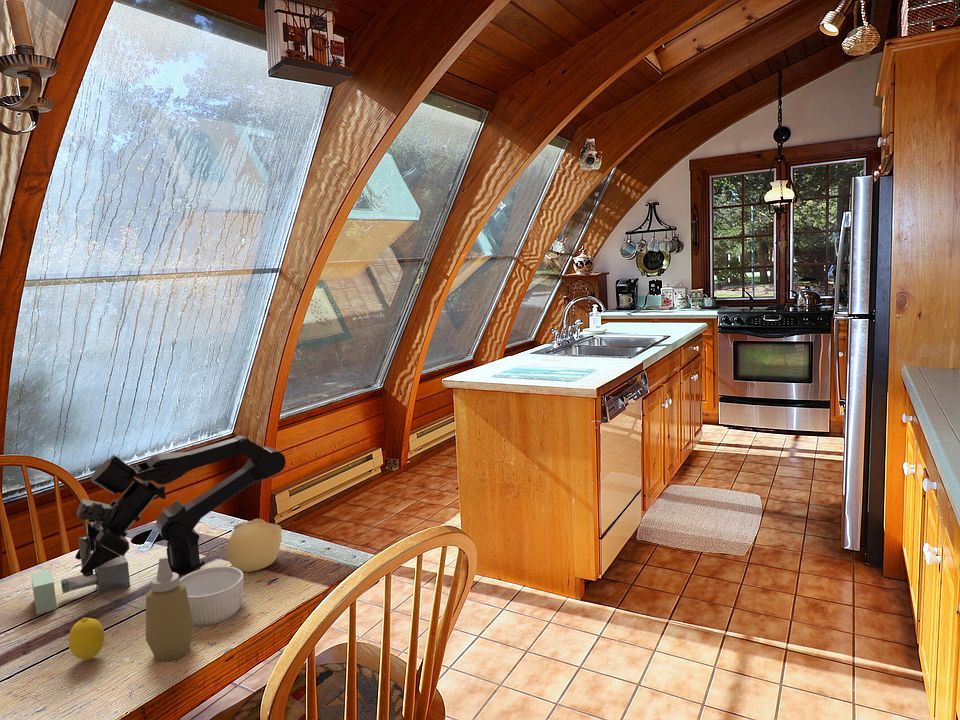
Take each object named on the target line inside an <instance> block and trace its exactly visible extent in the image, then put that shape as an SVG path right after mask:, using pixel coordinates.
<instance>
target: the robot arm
mask: <svg viewBox="0 0 960 720" xmlns="http://www.w3.org/2000/svg"><path fill="white" fill-rule="evenodd" d="M241 455H244V456H245V457H247V458H249V459H247V461H246V462H245V464H244V465H243V466H242V467H241V468H240V469H239V470H237V471H236V472H234V473H232V474H230V475H229V476H228V477H227V478H225V479H224V480H222V481H220V482H219V483H218V484H216V485H214V486H213V487H211V488H210V489H208V490H206V491H205V492H204V493H202V494H200V495H199V496H198V497H196V498H194V499H193V500H191V501H189V502H187V503H182V502H181V501H180V500H179V499H177V500H176V501H174V502H173V503H171V505H169V506H168V507H166V508H162V509H161V511H162V512H161V513H160V514H159V515H158V516H157V517H156V521H155V528H156V531H158V533H159V535H160V536H161V537H162V539H164V541H166V546H167V547H166V555H167V556H166V558H167V560H168V563H169V566H170V569H171V571H172V572H174V573H177V574H178V573H179V574H189V573H190V572H191V571H193V570H194V569H196V568H197V567H199V566H201V565H203V564H204V563H206V561H205V559H200V558H201V557H200V549H199V547H200V546H199V539H200V535H199V534H198V532H196V530H195V528H196V526H197V525H198V523H199V522H200V520H202V518H204V517H205V516H206V515H208V514H210V513H211V512H212V511H214V510H215V509H217V508H219V507H220V506H221V505H223V504H224V503H225V502H227V501H229V500H230V499H232V498H233V497H235V496H236V495H237V494H239V493H240V492H242V491H243V490H245V489H246V488H248V487H250V486H251V485H252V484H254V483H256V482H259V481H264V480H267V479H269V478H271V477H273V476H276V475H278V474H280V473H281V472H282V471H283V470H284V469H285V468H286V467H285V466H286V463H287V462H286V457H285V455H284V454H283V453H282V452H280V451H279V450H276V449H275V448H273V447H271V446H263V447H262V446H261V445H259V444H257V443H255V442H253V441H251V440H250V439H249V438H247V437H246V436H244V435H236V436H234V437H233V438H229V439H225V440H223V441H219V442H215V443H213V444H209V445H206V446H201V447H198V448H195V449H191V450H188V451H181V452H180V451H179V452H165V453H158V454H154V455H152V456H150V457H149V458H148V460H146V461H143V462H140V463H136V464H133V465H129V464H127V463H126V462H124V461H123V460H122V459H120V457H118V456H116V455H115V454H114V455H112V456H111V457H110V458H108V459H106V460H105V461H104V462H103V463H102V464H100V465H99V466H98V467H97V468H96V469H95V471H94V472H93V474H91V477H90V481H91V482H92V483H94V484H96V485H98V486H99V487H101V488H102V489H104V490H106V491H107V492H109V493H111V494H112V495H116V494H117V493H119V494H122V495H121V496H120V497H118V499H115V498H114V500H113V499H112V500H111V501H110V502H109V503H103V502H100V501H99V502H98V501H94V500H90V499H81V500H80V503H79V504H78V508H77V510H76V513H75V515H77V518H78V519H79V520H83V521H85V524H86V525H85V526H86V535H85V536H89V539H90V548H91V555H90V556H89V558H88V559H87V561H86V562H85V564H84V566H83V567H82V566H81V569H80V571H79V572H80V573H81V574H86V573H88V572H90V571H92V570H93V571H94V570H95V568H97V567H99V566H101V565H103V564H104V563H106V562H108V561H110V560H112V559H114V558H116V557H120V556H125V554H126V553H128V551H129V550H130V543H129V541H128V538H126V536H127V535H128V532H127V531H128V530H129V528H130V527H131V526H132V525H133V523H135V522H139V521H140V519H141V516H140V515H141V514H142V513H143V512H144V511H145V509H146V508H147V506H148V505H149V504H151V502H152V501H153V499H154V498H155V497H156V496H157V497H159V498H160V499H162V500H166V498H167V497H166V491H165V490H166V486H164V485H166V484H169V483H172V482H174V481H176V480H178V479H180V478H182V477H183V476H185V475H186V474H187V473H189V472H190V471H193V470H195V469H198V468H201V467H204V466H208V465H211V464H214V463H217V462H221V461H224V460H227V459H231V458H235V457H237V456H241ZM152 481H153V482H152ZM155 483H156V484H155ZM157 484H158V485H157ZM74 557H75V559H76V560H78V561H79V560H80V561H81V556H80V547H79V549H78V550H77V552H76V554H75V556H74Z"/></svg>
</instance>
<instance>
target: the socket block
mask: <svg viewBox="0 0 960 720" xmlns="http://www.w3.org/2000/svg"><path fill="white" fill-rule="evenodd" d="M30 576H31V584H32V585H31V586H32V594H33V600H34V605H35V611H36V615H42V614H45V612H46V613H48V612H51V611H52V610H53V611H56V610H58V606H57V598H56V597H57V596H56V591H55V582H54V578H53V574H52V570H51V568H49V569H44V570H41V571H35V572H33V573H31V574H30ZM53 611H52V612H53Z"/></svg>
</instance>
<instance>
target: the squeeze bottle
mask: <svg viewBox="0 0 960 720" xmlns="http://www.w3.org/2000/svg"><path fill="white" fill-rule="evenodd" d="M179 579H180V574H178V572H172V571H171V569H170V566H169V563H168V558H167V556H163V557H160V558H159V559H158V567H157V573H156V575H155V576H154V577H152V578H151V579H150V590H149V591H148V592H147V593H146V598H145V641H146V643H147V645H148V647H149V649H150V651H151V652H152V654H153V656H154V658H155V659H156V660H158V661H171V660H174V659H177V658H180V657H182V656H184V655H186V653H188V651H189V650H190V646H191V643H192V639H193V636H194V630H195V625H194V623H193V618H192V614H191V609H190V604H189V600H188V595H187V590H186V587H185V586H184V585H183V584H180V580H179Z"/></svg>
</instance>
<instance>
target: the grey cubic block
mask: <svg viewBox="0 0 960 720" xmlns="http://www.w3.org/2000/svg"><path fill="white" fill-rule="evenodd" d="M128 562H129V561H128V560H127V559H126V556H125V555H124V556H121V555H120V557H116V558H114V559H112V560H110V561H108V562H106V563H104V564H103V565H101V566H99V567H97V568H95V569H94V571H96V572H97V578H98V584H95V585H96V589H97V591H99V592H98V594H99V595H102V594H103V595H104V594H105V593H106V592H107V593H110V592H113V591H117V590H121V589H124V588H123V587H125V588H127V587H126V586H128V587H131V579H130V572H129V571H130V570H129V563H128ZM120 588H121V589H120ZM107 593H106V594H107Z"/></svg>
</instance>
